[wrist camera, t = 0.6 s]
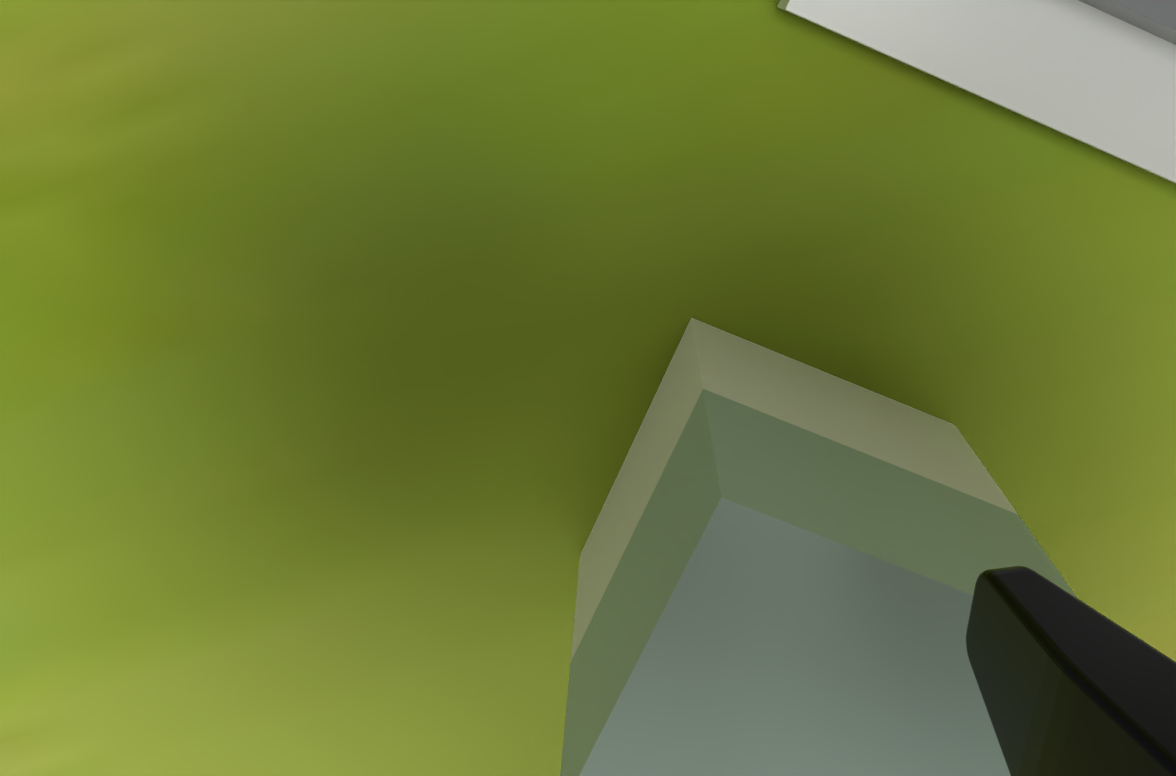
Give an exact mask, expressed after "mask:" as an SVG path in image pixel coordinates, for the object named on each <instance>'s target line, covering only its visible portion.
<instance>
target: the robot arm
mask: <svg viewBox="0 0 1176 776" xmlns="http://www.w3.org/2000/svg"><path fill="white" fill-rule="evenodd" d="M966 648H967V654H968V658H969V661H970V664H971V667H972V670H973V673H974V675H975V678H976V681H977V684H978V687H979V689H980V692H981V695H982V698H983V700H984V703H985V706H986V709H987V712H988V714H989V717H990V720H991V723H992V725H993V728H994V731H995V734H996V737H997V739H998V742H999V745H1000V748H1001V750H1002V753H1003V756H1004V759H1005V762H1006V764H1007V767H1008V770H1009V773H1010V775H1011V776H1176V662H1175V661H1173V660H1172V659H1170V658H1169V657H1167V656H1165V655H1164V654H1162V653H1161V652H1159V651H1158V650H1156V649H1155V648H1153V647H1152V646H1150V645H1148V644H1147V643H1145V642H1144V641H1142V640H1141V639H1139V638H1138V637H1136V636H1135V635H1133V634H1131V633H1130V632H1128V631H1127V630H1125V629H1124V628H1122V627H1121V626H1119V625H1118V624H1116V623H1114V622H1113V621H1111V620H1110V619H1108V618H1107V617H1105V616H1104V615H1102V614H1101V613H1099V612H1097V611H1096V610H1094V609H1093V608H1091V607H1090V606H1088V605H1087V604H1085V603H1084V602H1082V601H1080V600H1079V599H1077V598H1076V597H1074V596H1073V595H1071V594H1070V593H1068V592H1066V591H1065V590H1063V589H1062V588H1060V587H1059V586H1057V585H1056V584H1054V583H1053V582H1051V581H1049V580H1048V579H1046V578H1045V577H1043V576H1042V575H1040V574H1039V573H1037V572H1036V571H1034V570H1032V569H1030V568H1028V567H1025V566H1014V567H1005V568H997V569H989V570H985V571H983V572H982V573H981V574H980V575H979V576H978V578H977V581H976V584H975V589H974V594H973V599H972V604H971V610H970V615H969V620H968V625H967V631H966Z"/></svg>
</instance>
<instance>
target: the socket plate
mask: <svg viewBox="0 0 1176 776" xmlns="http://www.w3.org/2000/svg"><path fill="white" fill-rule="evenodd" d="M777 7H778V8H780V9H782V10H785V11H787V12H789V13H791V14H794V15H796V16H798V17H800V18H803V19H805V20H807V21H809V22H812V23H814V24H816V25H818V26H821V27H823V28H825V29H827V30H830V31H832V32H834V33H836V34H839V35H841V36H843V37H845V38H848V39H850V40H852V41H855V42H857V43H859V44H861V45H864V46H866V47H868V48H870V49H873V50H875V51H877V52H879V53H882V54H884V55H886V56H888V57H891V58H893V59H895V60H897V61H900V62H902V63H904V64H906V65H909V66H911V67H913V68H915V69H918V70H920V71H922V72H924V73H927V74H929V75H931V76H933V77H936V78H938V79H940V80H942V81H945V82H947V83H949V84H951V85H954V86H956V87H958V88H961V89H963V90H965V91H967V92H970V93H972V94H974V95H976V96H979V97H981V98H983V99H985V100H988V101H990V102H992V103H994V104H997V105H999V106H1001V107H1003V108H1006V109H1008V110H1010V111H1012V112H1015V113H1017V114H1019V115H1021V116H1024V117H1026V118H1028V119H1030V120H1033V121H1035V122H1037V123H1039V124H1042V125H1044V126H1046V127H1048V128H1051V129H1053V130H1055V131H1057V132H1060V133H1062V134H1064V135H1066V136H1069V137H1071V138H1073V139H1076V140H1078V141H1080V142H1082V143H1085V144H1087V145H1089V146H1091V147H1094V148H1096V149H1098V150H1100V151H1103V152H1105V153H1107V154H1109V155H1112V156H1114V157H1116V158H1118V159H1121V160H1123V161H1125V162H1127V163H1130V164H1132V165H1134V166H1136V167H1139V168H1141V169H1143V170H1145V171H1148V172H1150V173H1152V174H1154V175H1157V176H1159V177H1161V178H1163V179H1166V180H1168V181H1170V182H1172V183H1175V184H1176V0H780V1H779V3H778V6H777Z"/></svg>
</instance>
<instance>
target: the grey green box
mask: <svg viewBox="0 0 1176 776" xmlns="http://www.w3.org/2000/svg"><path fill="white" fill-rule="evenodd" d="M1014 566H1025V567H1028V568H1030V569H1032V570H1034V571H1036V572H1037V573H1039V574H1040V575H1042V576H1043V577H1045V578H1046V579H1048V580H1049V581H1051V582H1053V583H1054V584H1056V585H1057V586H1059V587H1060V588H1062V589H1063V590H1065V591H1066V592H1068V593H1070V594H1071V595H1073V596H1074V597H1076V596H1075V594H1074V593H1073V591H1072V590H1071V589H1070V587H1069V586H1068V584H1067V583H1066V581H1065V580H1064V579H1063V577H1062V576H1061V574H1060V573H1059V572H1058V570H1057V569H1056V567H1055V566H1054V564H1053V563H1052V562H1051V560H1050V559H1049V557H1048V556H1047V555H1046V553H1045V552H1044V550H1043V549H1042V547H1041V546H1040V545H1039V543H1038V542H1037V540H1036V539H1035V538H1034V536H1033V535H1032V533H1031V532H1030V530H1029V529H1028V528H1027V526H1026V525H1025V523H1024V522H1023V521H1022V519H1021V518H1020V516H1019V515H1018V513H1017V512H1016V511H1015V509H1014V508H1013V506H1012V505H1011V504H1010V502H1009V501H1008V499H1007V498H1006V496H1005V495H1004V494H1003V492H1002V491H1001V489H1000V488H999V487H998V485H997V484H996V482H995V481H994V479H993V478H992V477H991V475H990V474H989V472H988V471H987V470H986V468H985V467H984V465H983V464H982V462H981V461H980V460H979V458H978V457H977V455H976V454H975V453H974V451H973V450H972V448H971V447H970V445H969V444H968V443H967V441H966V440H965V438H964V437H963V436H962V434H961V433H960V431H959V430H958V428H957V427H956V426H955V425H954V424H952V423H949V422H947V421H945V420H942V419H940V418H937V417H935V416H932V415H930V414H927V413H925V412H922V411H920V410H917V409H915V408H913V407H910V406H908V405H905V404H903V403H900V402H898V401H895V400H893V399H890V398H888V397H885V396H883V395H881V394H878V393H876V392H873V391H871V390H868V389H866V388H863V387H861V386H858V385H856V384H854V383H851V382H849V381H846V380H844V379H841V378H839V377H836V376H834V375H831V374H829V373H826V372H824V371H822V370H819V369H817V368H814V367H812V366H809V365H807V364H804V363H802V362H799V361H797V360H795V359H792V358H790V357H787V356H785V355H782V354H780V353H777V352H775V351H772V350H770V349H767V348H765V347H763V346H760V345H758V344H755V343H753V342H750V341H748V340H745V339H743V338H740V337H738V336H736V335H733V334H731V333H728V332H726V331H723V330H721V329H718V328H716V327H713V326H711V325H708V324H706V323H704V322H701V321H699V320H696V319H694V318H691V319H690V321H689V323H688V325H687V328H686V330H685V332H684V334H683V336H682V338H681V340H680V343H679V345H678V347H677V349H676V351H675V353H674V355H673V357H672V360H671V362H670V364H669V366H668V368H667V370H666V372H665V375H664V377H663V379H662V381H661V383H660V385H659V387H658V390H657V392H656V394H655V396H654V398H653V400H652V402H651V405H650V407H649V409H648V411H647V413H646V415H645V417H644V420H643V422H642V424H641V426H640V428H639V430H638V432H637V435H636V437H635V439H634V441H633V443H632V445H631V447H630V449H629V452H628V454H627V456H626V458H625V460H624V462H623V464H622V467H621V469H620V471H619V473H618V475H617V477H616V479H615V482H614V484H613V486H612V488H611V490H610V492H609V494H608V497H607V499H606V501H605V503H604V505H603V507H602V509H601V512H600V514H599V516H598V518H597V520H596V522H595V524H594V527H593V529H592V531H591V533H590V535H589V537H588V539H587V542H586V544H585V546H584V548H583V550H582V552H581V554H580V561H579V572H578V583H577V594H576V606H575V617H574V628H573V639H572V651H571V662H570V673H569V684H568V696H567V707H566V718H565V729H564V741H563V752H562V763H561V774H560V776H1011V775H1010V773H1009V770H1008V767H1007V764H1006V762H1005V759H1004V756H1003V753H1002V750H1001V748H1000V745H999V742H998V739H997V737H996V734H995V731H994V728H993V725H992V723H991V720H990V717H989V714H988V712H987V709H986V706H985V703H984V700H983V698H982V695H981V692H980V689H979V687H978V684H977V681H976V678H975V675H974V673H973V670H972V667H971V664H970V661H969V658H968V654H967V648H966V631H967V625H968V620H969V615H970V610H971V604H972V599H973V594H974V589H975V584H976V581H977V578H978V576H979V575H980V574H981V573H982V572H983V571H985V570H989V569H997V568H1005V567H1014ZM1076 598H1077V597H1076ZM1077 599H1078V598H1077Z"/></svg>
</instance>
